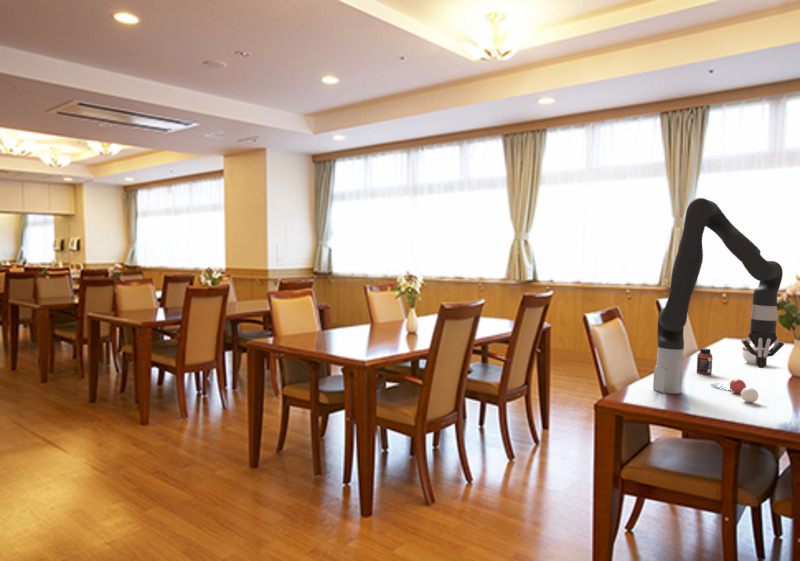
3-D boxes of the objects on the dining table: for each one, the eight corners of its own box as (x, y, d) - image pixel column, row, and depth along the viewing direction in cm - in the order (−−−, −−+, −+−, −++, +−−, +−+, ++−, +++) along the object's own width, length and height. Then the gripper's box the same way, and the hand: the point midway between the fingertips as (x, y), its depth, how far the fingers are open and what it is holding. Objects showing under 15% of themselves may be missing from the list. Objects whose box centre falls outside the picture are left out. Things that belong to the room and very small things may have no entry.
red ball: (737, 395, 214) (738, 381, 214) (725, 391, 219) (726, 377, 219) (748, 394, 215) (749, 380, 215) (737, 391, 221) (738, 377, 220)
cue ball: (749, 404, 201) (750, 389, 200) (736, 400, 206) (737, 386, 206) (761, 404, 202) (762, 389, 202) (748, 400, 207) (749, 385, 207)
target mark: (730, 392, 217) (730, 392, 217) (702, 384, 231) (702, 383, 231) (759, 391, 221) (759, 390, 221) (730, 382, 234) (730, 382, 234)
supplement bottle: (713, 375, 248) (714, 350, 247) (698, 374, 249) (700, 349, 249) (708, 372, 254) (710, 348, 253) (694, 371, 255) (696, 347, 254)
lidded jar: (746, 360, 286) (747, 342, 285) (770, 364, 278) (771, 345, 277) (738, 362, 279) (739, 344, 278) (762, 366, 271) (763, 347, 270)
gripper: (781, 318, 195) (778, 367, 196) (738, 316, 198) (736, 364, 199) (790, 320, 188) (786, 371, 189) (745, 318, 191) (742, 368, 192)
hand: (760, 367), depth 194 cm, fingers closed
